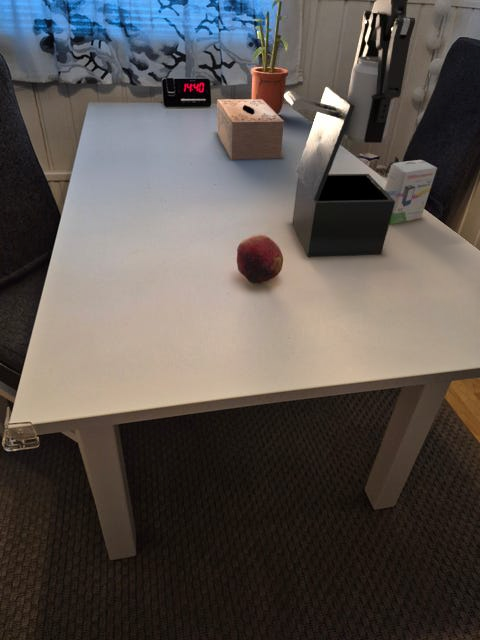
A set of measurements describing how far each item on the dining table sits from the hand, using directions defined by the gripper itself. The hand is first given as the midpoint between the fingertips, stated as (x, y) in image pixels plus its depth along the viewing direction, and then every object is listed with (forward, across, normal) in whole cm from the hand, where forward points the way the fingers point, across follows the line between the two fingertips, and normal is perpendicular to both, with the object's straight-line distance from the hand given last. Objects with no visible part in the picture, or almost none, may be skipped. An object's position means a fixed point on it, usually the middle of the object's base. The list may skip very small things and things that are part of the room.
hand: (364, 134), depth 76 cm
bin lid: (+2, -2, -6) cm, 7 cm away
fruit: (+21, +12, -19) cm, 31 cm away
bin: (+21, -2, -1) cm, 21 cm away
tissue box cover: (+21, -63, -10) cm, 67 cm away
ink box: (+21, -11, +17) cm, 29 cm away
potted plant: (+21, -99, 0) cm, 101 cm away
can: (+1, 0, 0) cm, 1 cm away
